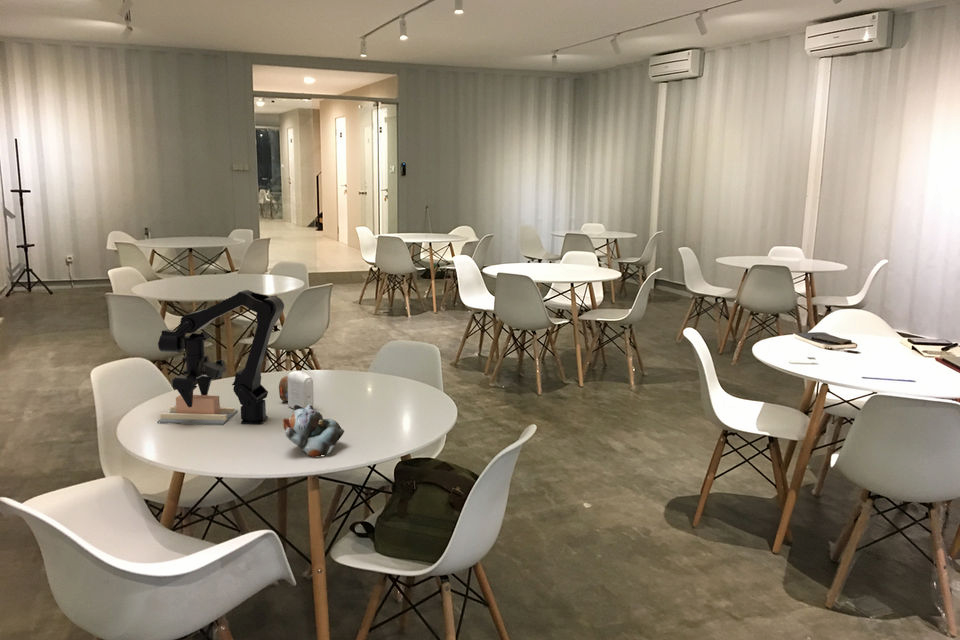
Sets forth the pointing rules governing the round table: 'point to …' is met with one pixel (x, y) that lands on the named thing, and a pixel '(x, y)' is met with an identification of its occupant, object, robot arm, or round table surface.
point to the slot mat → (198, 417)
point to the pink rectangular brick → (199, 405)
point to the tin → (283, 388)
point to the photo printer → (300, 389)
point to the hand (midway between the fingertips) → (197, 402)
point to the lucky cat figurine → (312, 431)
